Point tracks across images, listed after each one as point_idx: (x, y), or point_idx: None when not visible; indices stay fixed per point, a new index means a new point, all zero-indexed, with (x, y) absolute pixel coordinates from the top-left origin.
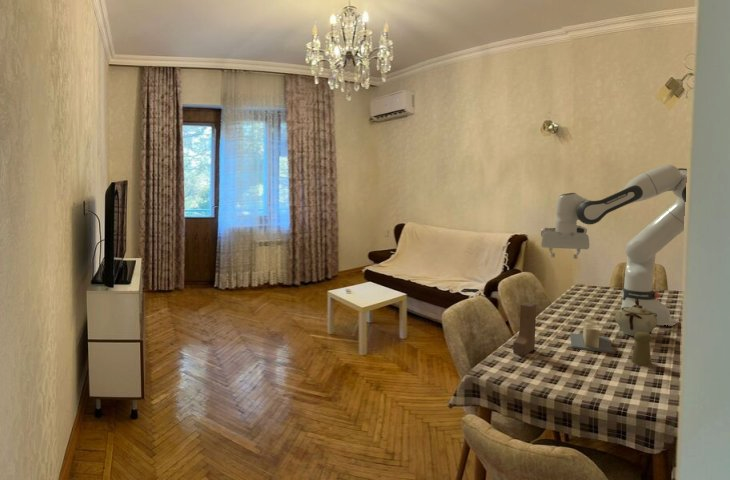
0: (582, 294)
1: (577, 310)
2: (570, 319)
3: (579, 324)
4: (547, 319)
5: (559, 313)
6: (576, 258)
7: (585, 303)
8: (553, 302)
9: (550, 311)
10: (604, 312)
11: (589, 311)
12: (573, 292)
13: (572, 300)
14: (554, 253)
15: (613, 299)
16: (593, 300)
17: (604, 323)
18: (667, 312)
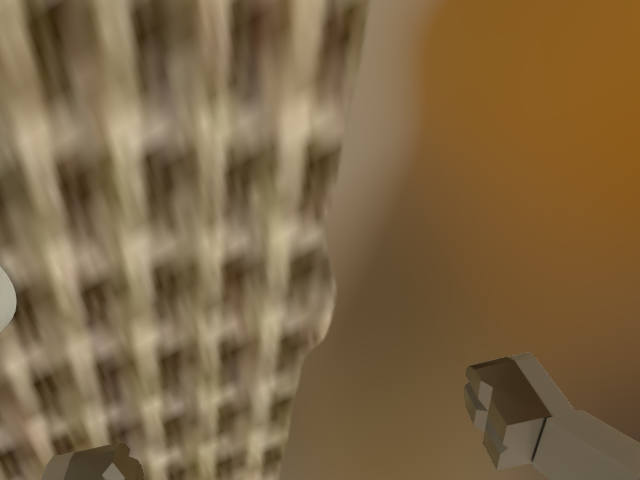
0: (237, 465)
1: (207, 273)
2: (202, 97)
3: (129, 12)
4: (322, 24)
5: (276, 182)
6: (67, 454)
7: (201, 380)
8: (325, 331)
9: (323, 193)
10: (89, 304)
11: (154, 286)
12: (271, 469)
13: (257, 389)
14: (503, 462)
15: None
16: (183, 425)
17: (13, 117)
18: None
